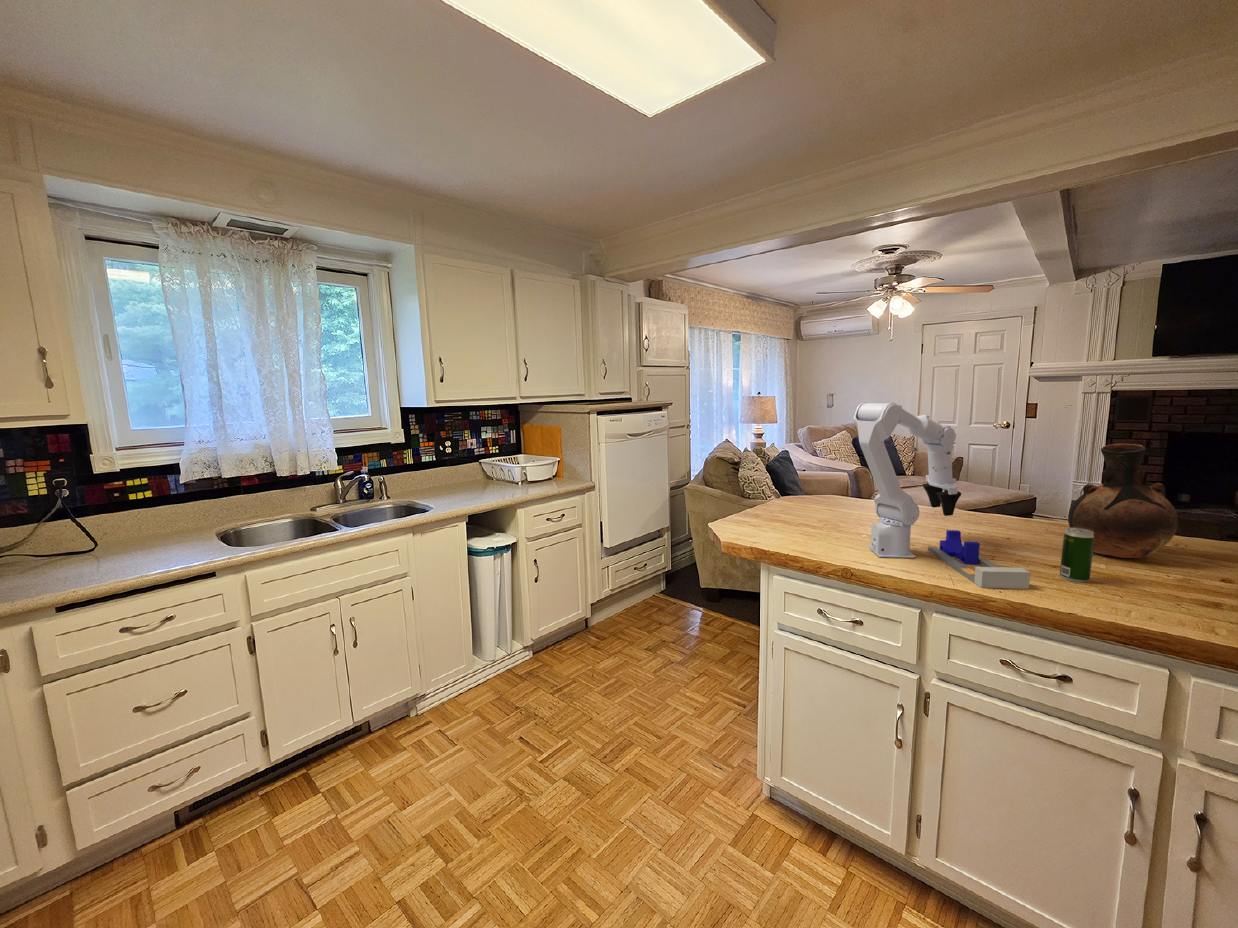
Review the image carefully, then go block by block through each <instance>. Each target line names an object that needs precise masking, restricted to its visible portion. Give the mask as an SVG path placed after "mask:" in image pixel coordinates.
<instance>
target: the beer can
mask: <svg viewBox="0 0 1238 928" xmlns="http://www.w3.org/2000/svg"><path fill="white" fill-rule="evenodd" d="M1094 539H1095V536H1094V532H1093V531H1091V530H1088V529H1082V528H1070V527H1066V528H1065V531H1064V532H1063V538H1062V547H1061V548H1062V549H1061V557H1060V568H1059V569H1060V570H1059V576H1060V578H1061V579H1063V580H1065V581H1068V582H1072V583H1073V582H1074V583H1078V582H1086V583H1088V582H1089V581H1090V579H1091V574H1092V564H1093V556H1094V555H1093V554H1094V552H1093V548H1094Z"/></svg>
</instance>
